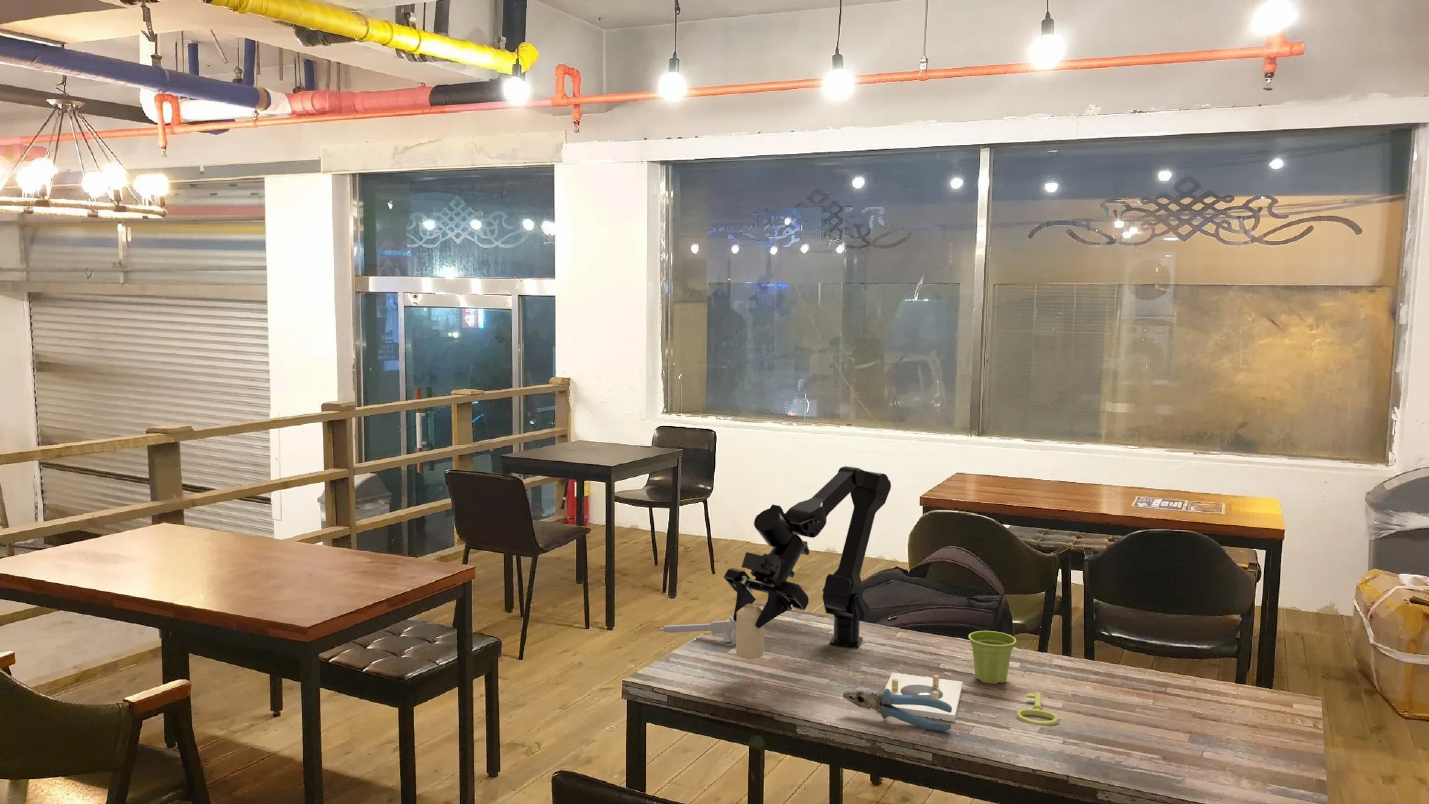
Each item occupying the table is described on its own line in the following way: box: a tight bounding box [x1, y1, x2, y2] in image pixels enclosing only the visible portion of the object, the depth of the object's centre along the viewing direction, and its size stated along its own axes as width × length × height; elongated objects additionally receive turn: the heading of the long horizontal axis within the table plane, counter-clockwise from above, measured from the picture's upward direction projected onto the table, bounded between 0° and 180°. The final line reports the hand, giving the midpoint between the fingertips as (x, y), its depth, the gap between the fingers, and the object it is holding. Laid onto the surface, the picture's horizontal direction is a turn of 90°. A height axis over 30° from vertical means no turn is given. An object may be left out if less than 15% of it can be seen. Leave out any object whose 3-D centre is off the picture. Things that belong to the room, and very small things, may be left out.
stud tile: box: [884, 672, 964, 723], centre depth 195 cm, size 18×14×3 cm
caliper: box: [658, 615, 737, 644], centre depth 230 cm, size 20×1×6 cm, turn 66°
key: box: [1016, 691, 1059, 726], centre depth 190 cm, size 7×12×2 cm, turn 0°
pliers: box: [842, 688, 952, 732], centre depth 184 cm, size 20×2×6 cm, turn 63°
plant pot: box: [968, 630, 1017, 685], centre depth 207 cm, size 9×9×9 cm
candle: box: [735, 604, 765, 660], centre depth 203 cm, size 6×6×10 cm
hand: (745, 623), depth 202 cm, fingers closed on candle, 5 cm apart
